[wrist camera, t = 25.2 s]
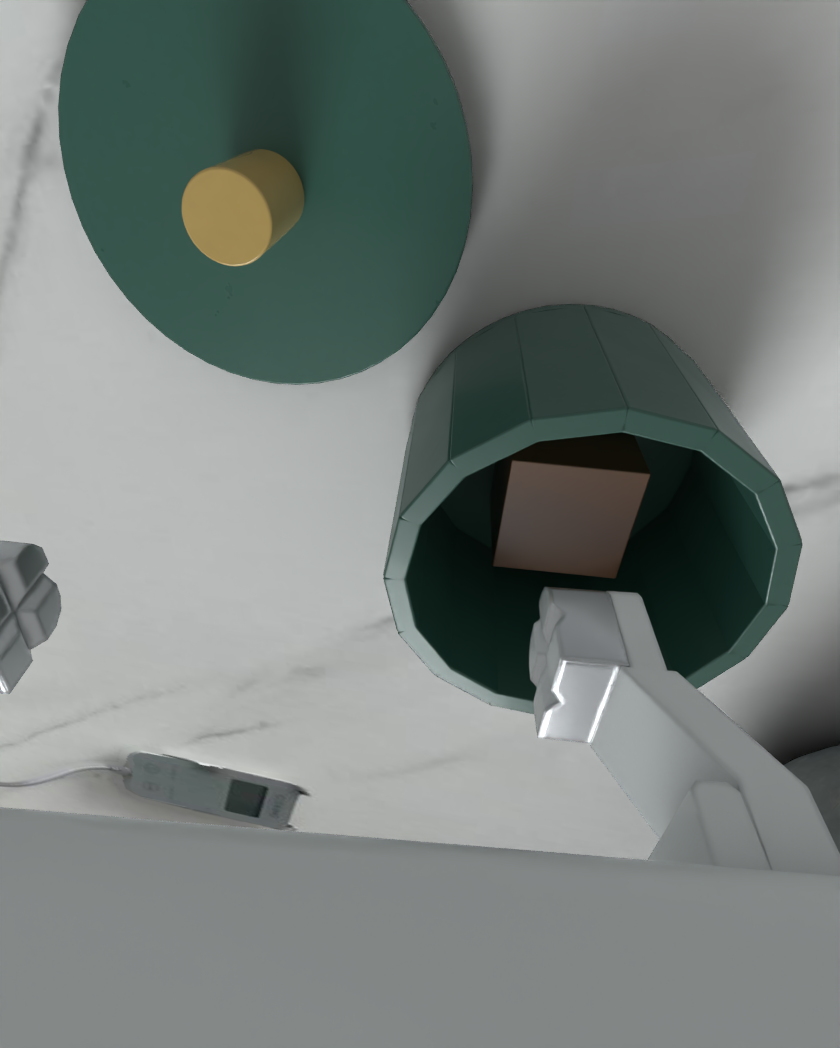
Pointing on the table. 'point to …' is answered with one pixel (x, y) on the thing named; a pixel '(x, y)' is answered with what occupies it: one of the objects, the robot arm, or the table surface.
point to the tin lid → (269, 175)
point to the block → (568, 504)
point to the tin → (661, 524)
